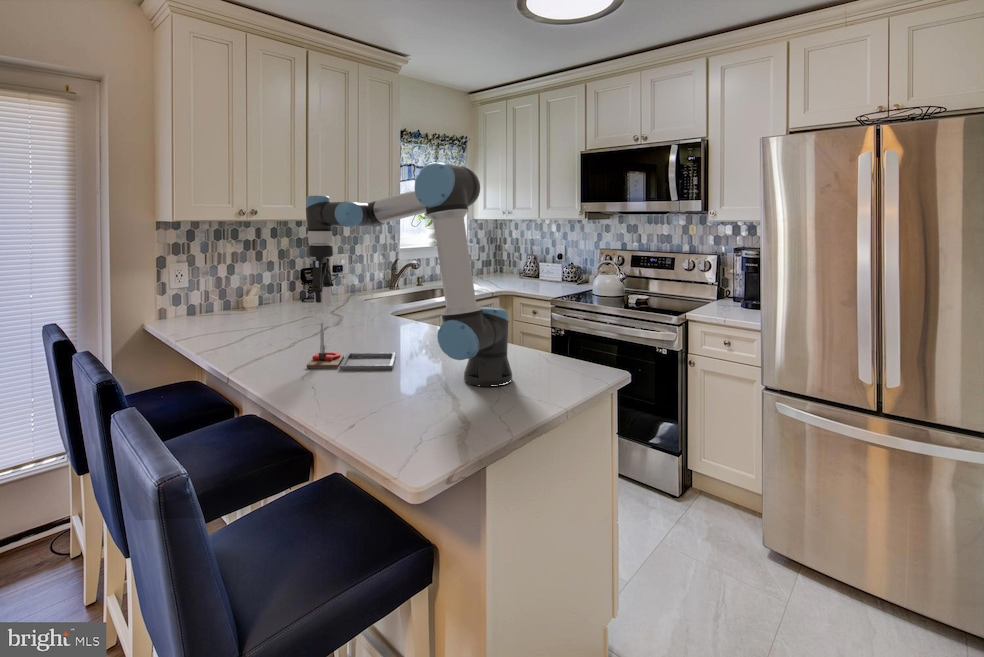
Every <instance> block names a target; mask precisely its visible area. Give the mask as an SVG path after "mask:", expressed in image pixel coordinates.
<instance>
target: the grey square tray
mask: <svg viewBox="0 0 984 657" xmlns="http://www.w3.org/2000/svg"><path fill="white" fill-rule="evenodd" d="M350 357H377V358H391V359H390V363H389V364H348V363H349V361H350V359H351V358H350ZM396 357H397V352H347V353H346V355H345V356H344V360H343V361H342V363H341V364H340V366H339V371H340V370H343V371H393V370H394V366H395V362H396V359H397V358H396ZM348 360H349V361H348ZM347 362H348V363H347Z"/></svg>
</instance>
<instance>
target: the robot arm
mask: <svg viewBox="0 0 984 657" xmlns="http://www.w3.org/2000/svg"><path fill="white" fill-rule="evenodd" d="M480 193H481V183H480V179H479V177H478V176H477V175H476V173H475V172H474V170H472V169H470V168H467V167H465V166H461V165H460V166H459V165H454V164H449V163H446V162H431V163H427V164H426V165H425V166H423V167H422V168H421V169H420V170H419V173H418V174H417V175H416V178H415V181H414V189H413V190H410V191H406V192H403V193H399V194H395V195H391V196H388V197H384V198H381V199H378V200H374V201H370V202H355V201H354V202H353V201H335V202H334V201H331V198H330V196H328V195H308V196H307V197H306V198H305V199H306V200H305V213H306V227H307V233H306V234H305V236H306V238H307V240H308V241H307V243H308V244H310V245H308V256H309V257H310V258H315V260H312V268H313V269H312V281H311V282H312V283H311V289H310V292H311V293H313V298H314V300H313V301H314V302H313V303H314V313H316V314H317V313H321V314H322V313H325V307H332V306H333V297H332V296H333V295H332V287H334V283H333V279H332V272H331V266H330V258H331V257H333V255H334V249H333V248H334V247H333V245H332V244H333V229H332V228H333V227H345V228H353V227H372V228H375V227H381V226H384V225H385V224H386V223H390V222H393V221H397V220H402V219H406V218H410V217H413V216H417V215H421V214H426V217H427V218H428V219H429V220H430V221H431V222H433V224H432V225H433V230H434V237H435V244H436V248H437V255H438V256H437V257H438V263H439V268H440V269H439V270H440V276H441V281H442V282H441V283H442V288H443V289H442V290H443V296H444V301H445V308H444V310H443V311H442V312H441V318H442V323H441V325H440V326H439V329H438V330H437V335H436V336H437V338H436V339H437V343H438V346H439V348H440V349H441V351H442V352H443V354H445V355H446V356H447V357H449V358H450V359H453V360H454V361H455V360H456V361H464V360H467V363H466V366H465V369H464V373H463V381H464V380H465V381H466V382H467V383H466V382H465V381H464V382H465V383H466V384H468V383H470V384H469V385H471V384H473V385H472V386H474V385H480V386H491V385H499V384H503V383H506V382H509V381H510V380H511V379H512V380H513V372H512V369H511V364H510V361H509V359H508V344H509V342H508V341H509V340H508V339H509V321H510V320H509V313H508V311H507V309H504V308H497V307H490V306H480V304H478V303H477V299H476V293H475V286H474V278H473V272H472V265H471V258H470V252H469V245H468V237H467V230H466V224H465V217H466V215H467V214H468V213H469V207H471V206H472V205H473V204H474V203H475V202H476V201H478V199H479V196H480ZM480 386H479V387H480Z"/></svg>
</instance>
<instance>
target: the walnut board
mask: <svg viewBox="0 0 984 657" xmlns="http://www.w3.org/2000/svg"><path fill="white" fill-rule="evenodd" d="M344 358H345V355H340V357H339V358H335V359H332V361H327V360H326V361H321V360H313V357H311V359H310V361H309V362H308V363H307V364H306V369H307V368H331V369H339V368H340V366H339V365H341V362H342V361H343V359H344ZM338 367H339V368H338Z"/></svg>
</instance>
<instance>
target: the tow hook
mask: <svg viewBox="0 0 984 657" xmlns="http://www.w3.org/2000/svg"><path fill="white" fill-rule="evenodd" d="M319 333H320V334H319V335H320V336H319V337H320V338H319V341H320V342H319V343H320V345H319V352H317V353H315V355H313V356H312V358H313V360H321V361H326V360H327V361H332V359H335V358H339V357H340V356H341V354H340V353H339V352H334V351H326V346H325V329H324V323H323V322H320V329H319Z"/></svg>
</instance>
